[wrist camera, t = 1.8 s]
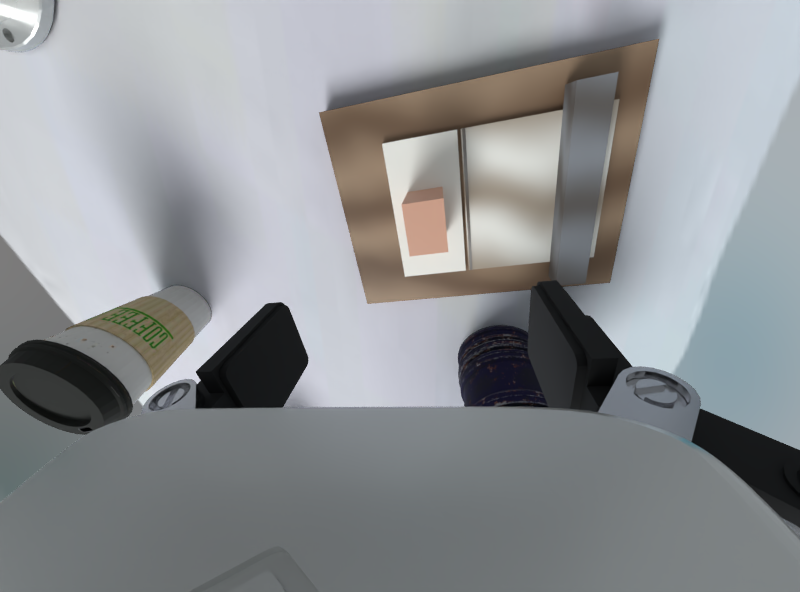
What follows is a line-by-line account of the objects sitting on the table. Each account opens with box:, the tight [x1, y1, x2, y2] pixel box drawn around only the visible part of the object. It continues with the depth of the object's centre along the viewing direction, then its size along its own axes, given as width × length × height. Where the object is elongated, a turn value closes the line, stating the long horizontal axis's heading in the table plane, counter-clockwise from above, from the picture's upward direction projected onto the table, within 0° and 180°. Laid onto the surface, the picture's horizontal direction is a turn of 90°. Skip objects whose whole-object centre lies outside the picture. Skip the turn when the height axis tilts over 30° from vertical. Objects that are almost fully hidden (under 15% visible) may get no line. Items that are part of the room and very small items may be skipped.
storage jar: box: [458, 325, 549, 408], centre depth 29 cm, size 10×10×15 cm
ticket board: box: [319, 39, 659, 304], centre depth 25 cm, size 18×24×4 cm
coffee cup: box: [0, 285, 211, 435], centre depth 30 cm, size 10×10×15 cm
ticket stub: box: [382, 130, 466, 277], centre depth 24 cm, size 12×6×5 cm, turn 10°
